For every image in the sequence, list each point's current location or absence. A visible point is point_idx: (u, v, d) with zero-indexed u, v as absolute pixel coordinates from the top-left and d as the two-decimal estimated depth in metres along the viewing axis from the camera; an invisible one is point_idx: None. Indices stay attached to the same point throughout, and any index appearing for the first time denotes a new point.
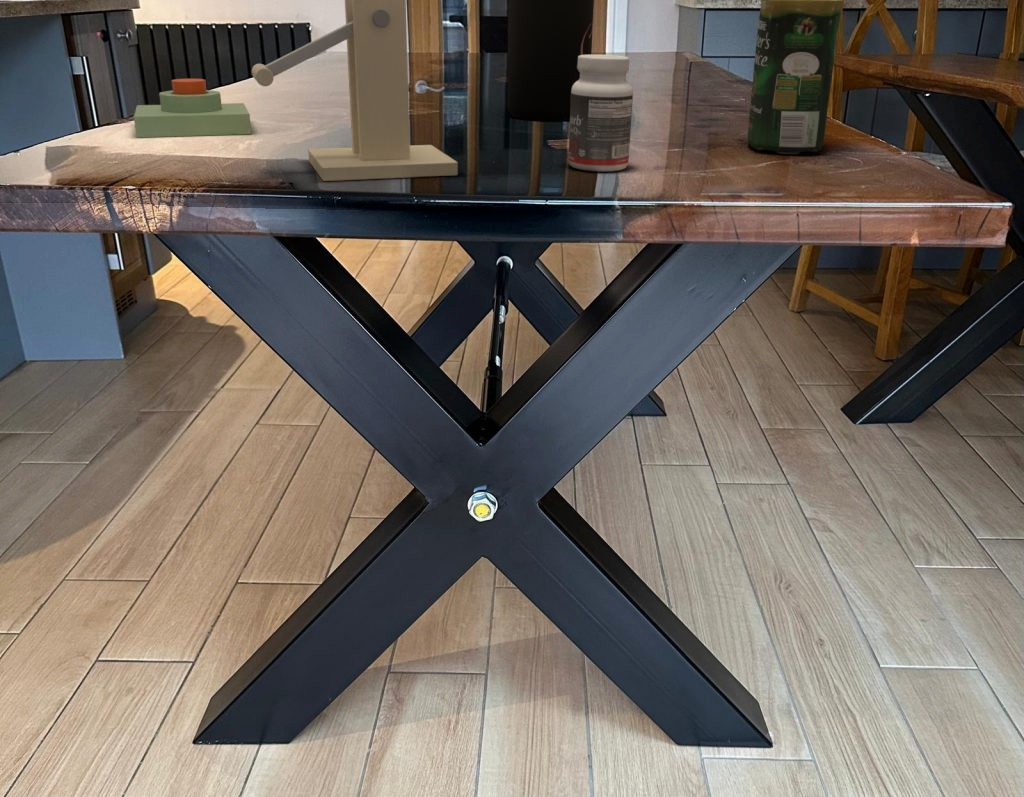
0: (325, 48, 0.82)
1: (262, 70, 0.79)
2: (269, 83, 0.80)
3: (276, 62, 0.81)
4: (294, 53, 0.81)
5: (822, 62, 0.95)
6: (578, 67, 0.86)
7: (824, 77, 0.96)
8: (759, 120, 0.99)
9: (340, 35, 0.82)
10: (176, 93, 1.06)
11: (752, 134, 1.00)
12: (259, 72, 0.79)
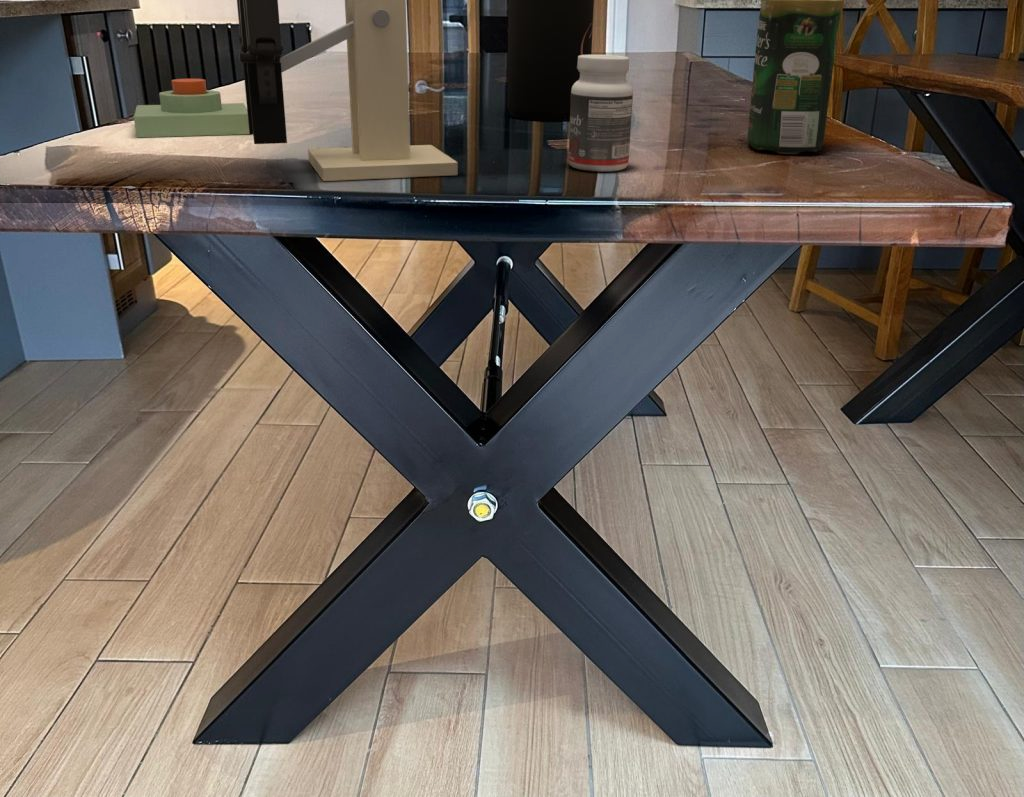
0: (325, 48, 0.82)
1: None
2: None
3: None
4: (294, 53, 0.81)
5: (822, 62, 0.95)
6: (578, 67, 0.86)
7: (824, 77, 0.96)
8: (759, 120, 0.99)
9: (340, 35, 0.82)
10: (176, 93, 1.06)
11: (752, 134, 1.00)
12: None
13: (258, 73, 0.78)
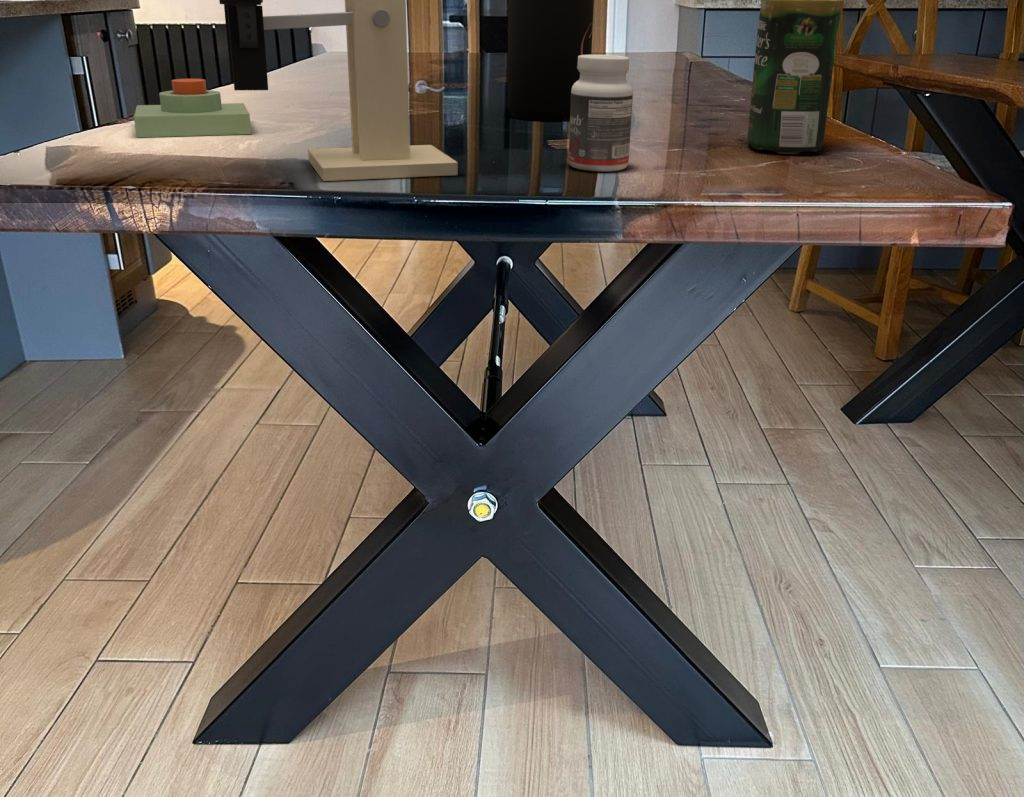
0: (316, 25, 0.81)
1: None
2: None
3: (264, 18, 0.80)
4: (285, 17, 0.80)
5: (822, 62, 0.95)
6: (578, 67, 0.86)
7: (824, 77, 0.96)
8: (759, 120, 0.99)
9: (335, 19, 0.81)
10: (176, 93, 1.06)
11: (752, 134, 1.00)
12: None
13: (238, 15, 0.76)
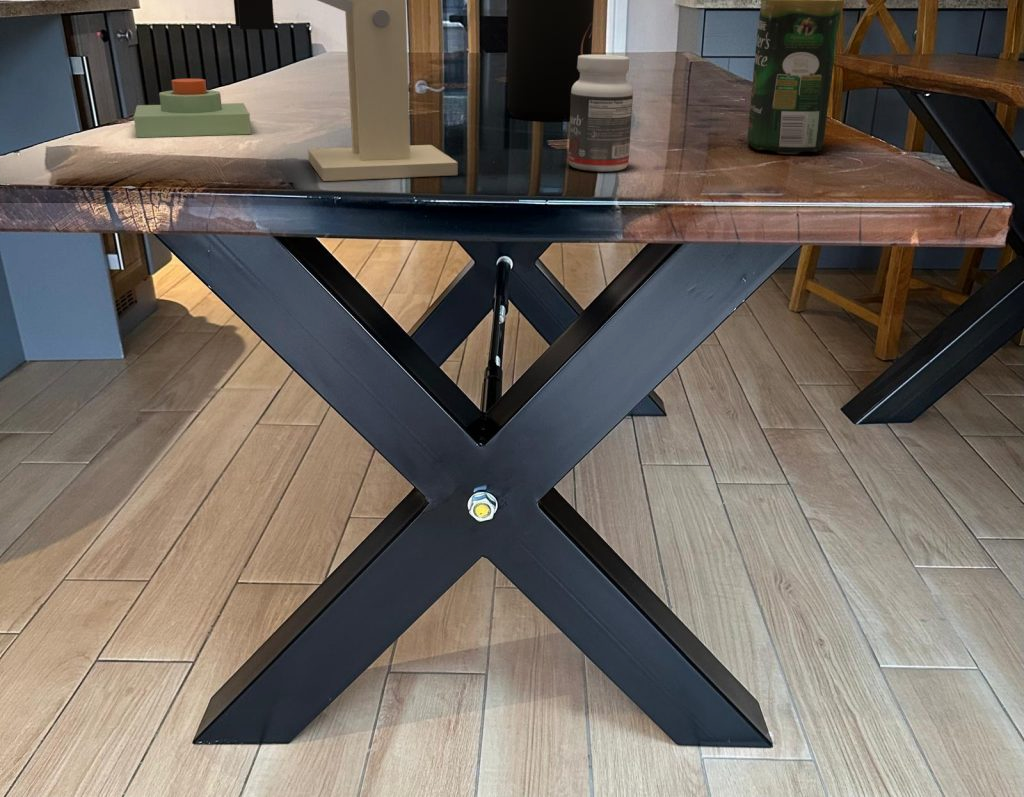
0: None
1: None
2: None
3: None
4: None
5: (822, 62, 0.95)
6: (578, 67, 0.86)
7: (824, 77, 0.96)
8: (759, 120, 0.99)
9: (337, 1, 0.81)
10: (176, 93, 1.06)
11: (752, 134, 1.00)
12: None
13: None
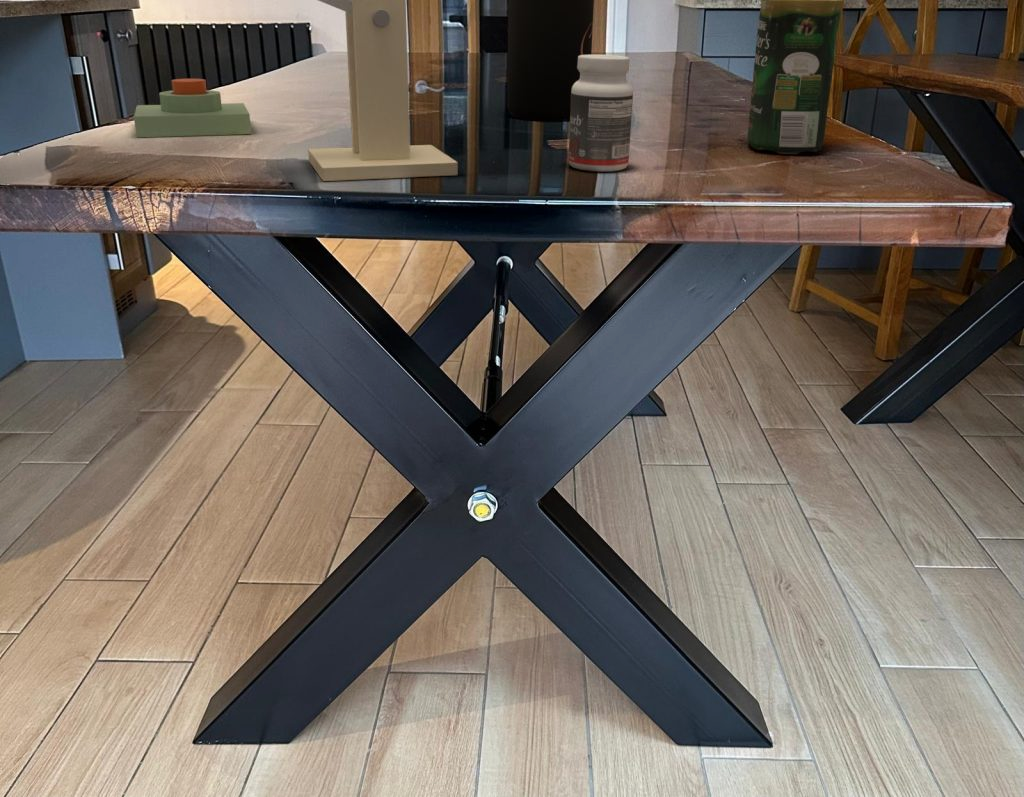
0: None
1: None
2: None
3: None
4: None
5: (822, 62, 0.95)
6: (578, 67, 0.86)
7: (824, 77, 0.96)
8: (759, 120, 0.99)
9: (337, 1, 0.81)
10: (176, 93, 1.06)
11: (752, 134, 1.00)
12: None
13: None
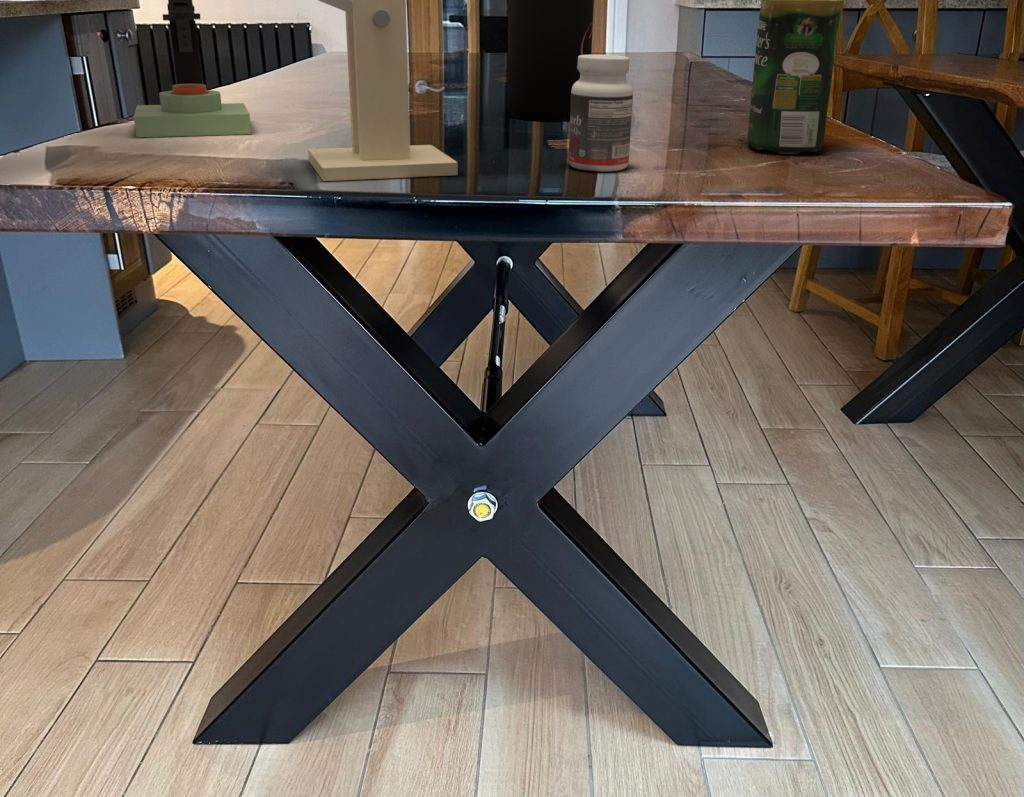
0: None
1: None
2: None
3: None
4: None
5: (822, 62, 0.95)
6: (578, 67, 0.86)
7: (824, 77, 0.96)
8: (759, 120, 0.99)
9: (337, 1, 0.81)
10: None
11: (752, 134, 1.00)
12: None
13: (177, 28, 1.03)
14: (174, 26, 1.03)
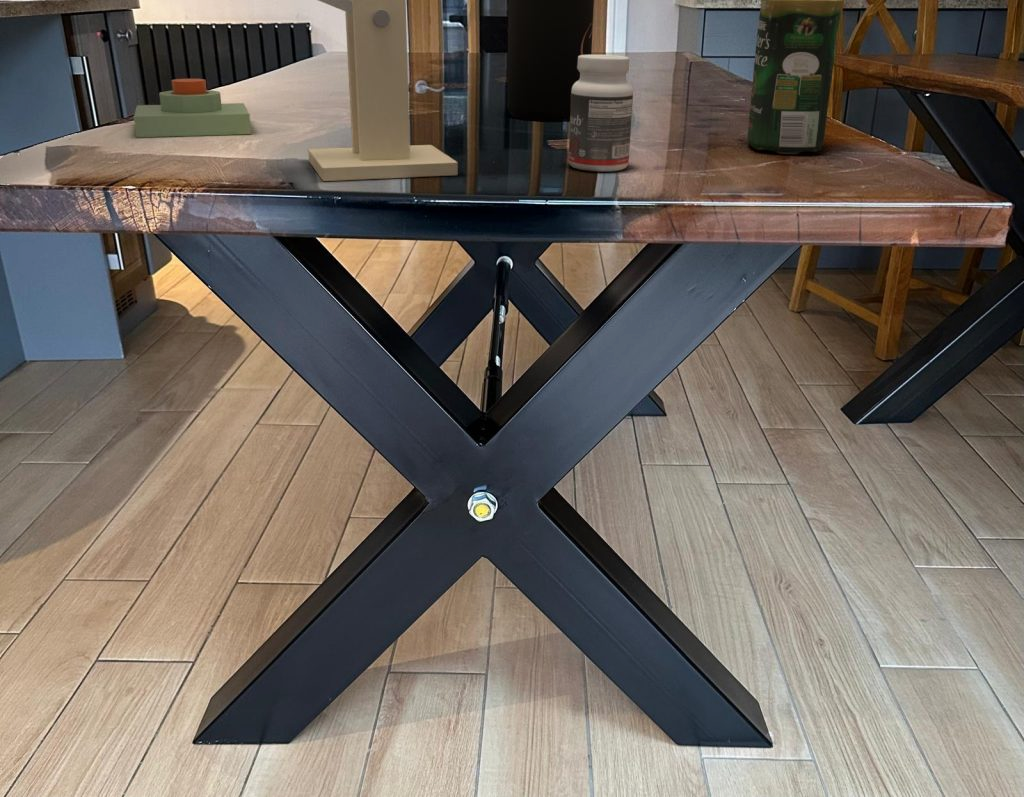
0: None
1: None
2: None
3: None
4: None
5: (822, 62, 0.95)
6: (578, 67, 0.86)
7: (824, 77, 0.96)
8: (759, 120, 0.99)
9: (337, 1, 0.81)
10: (176, 93, 1.06)
11: (752, 134, 1.00)
12: None
13: None
14: None
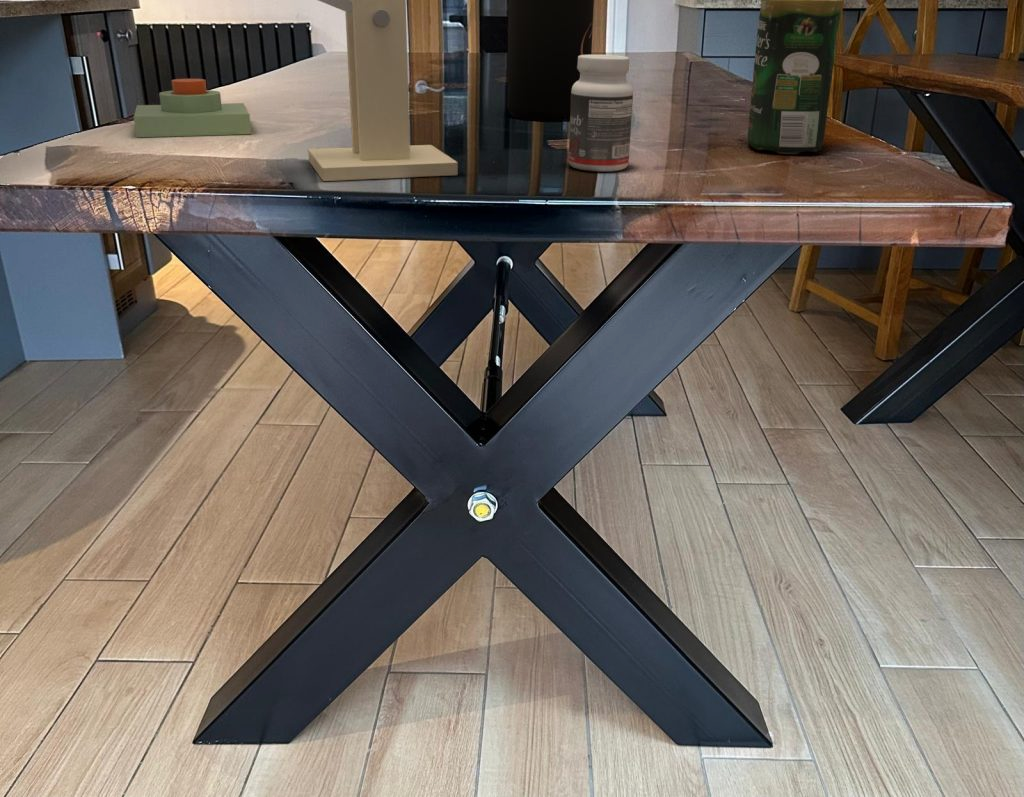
0: None
1: None
2: None
3: None
4: None
5: (822, 62, 0.95)
6: (578, 67, 0.86)
7: (824, 77, 0.96)
8: (759, 120, 0.99)
9: (337, 1, 0.81)
10: (176, 93, 1.06)
11: (752, 134, 1.00)
12: None
13: None
14: None
